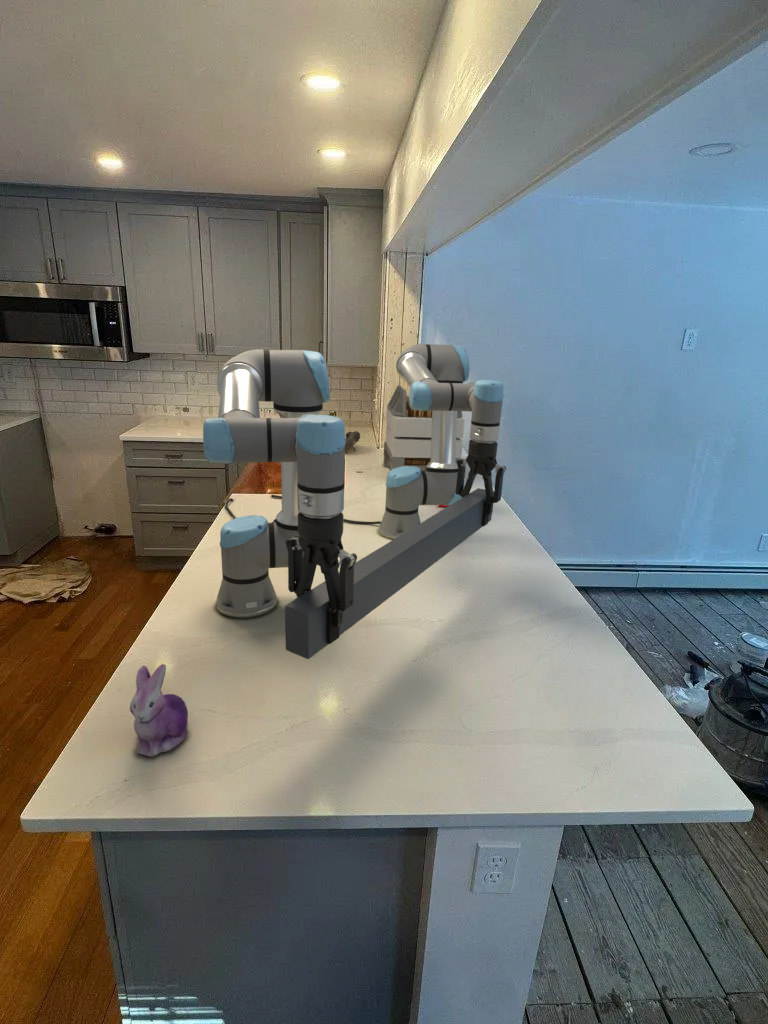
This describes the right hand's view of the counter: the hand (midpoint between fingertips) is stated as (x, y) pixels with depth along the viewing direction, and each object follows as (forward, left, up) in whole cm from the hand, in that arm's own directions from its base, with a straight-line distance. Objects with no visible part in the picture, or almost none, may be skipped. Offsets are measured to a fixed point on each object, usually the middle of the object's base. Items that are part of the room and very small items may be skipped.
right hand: (475, 522), depth 158 cm
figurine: (+8, -92, -20) cm, 94 cm away
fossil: (-149, +69, -20) cm, 166 cm away
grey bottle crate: (-94, +71, -20) cm, 119 cm away
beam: (+11, -34, -1) cm, 36 cm away
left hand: (+22, -67, 0) cm, 71 cm away
